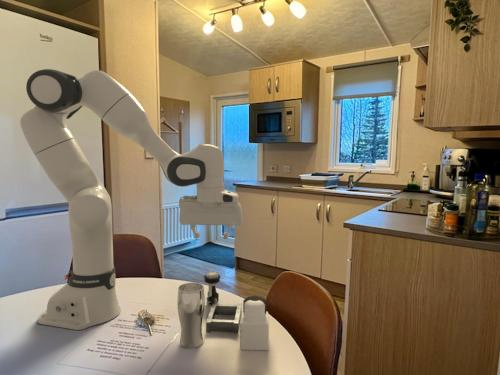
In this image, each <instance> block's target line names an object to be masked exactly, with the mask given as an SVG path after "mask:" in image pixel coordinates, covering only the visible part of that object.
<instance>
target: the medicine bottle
mask: <svg viewBox="0 0 500 375" xmlns="http://www.w3.org/2000/svg"><path fill="white" fill-rule="evenodd" d="M242 305H243V306H242V309H243V310H242V313H241V320H240V326H239V333H240V334H239V336H240V337H239V339H240V340H239V343H240V344H239V349H240V350H241V351H265V352H266V351H269V342H270V340H269V339H270V338H269V336H270V334H269V333H270V331H269V330H270V329H269V328H270V326H269V324H270V323H269V322H270V321H269V312H268V311H267V299H265V298H264V297H262V296H258V295H250V296H248V297H246V298H244V300H243V301H242Z"/></svg>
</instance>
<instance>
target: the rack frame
mask: <svg viewBox="0 0 500 375" xmlns="http://www.w3.org/2000/svg"><path fill="white" fill-rule="evenodd" d="M242 305H243V303H237V304H230V303H228V304H227V303H218V302H217V303H213V305H212V306H210V307H211V308H210V310H209V313H208V315H207V318H206V322H205V332H206V333H207V334H208V333H233V334H234V335H238V334H239V333H240V323H241V315H242V311H243V310H242V309H243V306H242ZM216 316H228V317H231V316H234V319H216Z"/></svg>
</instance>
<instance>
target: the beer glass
mask: <svg viewBox="0 0 500 375" xmlns="http://www.w3.org/2000/svg"><path fill="white" fill-rule="evenodd" d="M205 303H206V301H205V286H204V285H203V284H202V283H200V282H186V283H181V284H180V285H179V286H178V288H177V304H176V305H177V315H178V320H179V324H180V336H179V346H181V348H184V349H188V350H193V349H196V348H199V347H201V346H202V344H204V337H203V331H202V330H203V328H202V327H203V320H204V315H205V307H206V305H205Z"/></svg>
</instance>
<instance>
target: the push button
mask: <svg viewBox="0 0 500 375" xmlns="http://www.w3.org/2000/svg"><path fill="white" fill-rule="evenodd" d="M203 279H204V282H205V283H206V284H207V285H208V291H207V296H206V302H205V303H206V305H205V307H207V308H208V307H209V306H210V307H212V305H213V303H217V304H218V302H219V299H220V298H219V295H220V294H219V292H217V284H218V283H219V282H220V280H221V275H220V274H218V272H216V271H208V272H207V273H206V274H205V275H204V276H203Z"/></svg>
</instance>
